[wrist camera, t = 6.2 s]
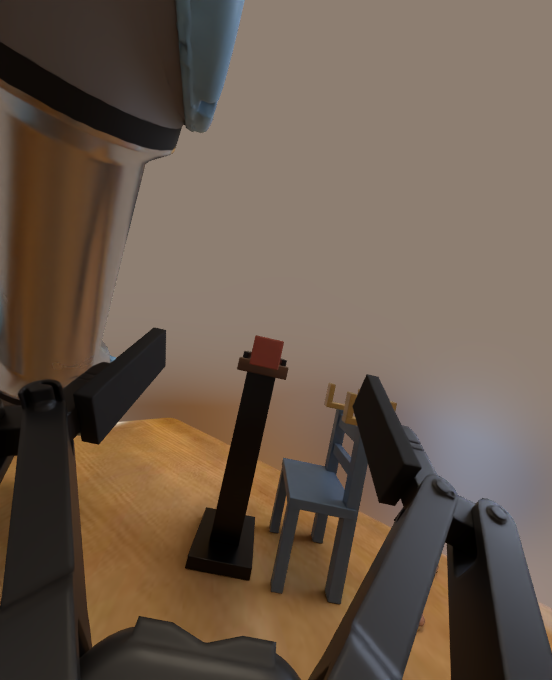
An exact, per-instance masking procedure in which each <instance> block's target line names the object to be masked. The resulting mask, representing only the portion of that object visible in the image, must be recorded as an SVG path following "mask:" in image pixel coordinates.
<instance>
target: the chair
mask: <svg viewBox="0 0 552 680" xmlns="http://www.w3.org/2000/svg"><path fill="white" fill-rule="evenodd" d="M334 391H335V384H332V383H329V385H328V389H327V394H326V399H325V406H327V407H330V408H335V409H337V410H336V415H335V420H334V424H333V430H332V434H331V439H330V444H329V449H328V454H327V459H326V464H325V466H321V465H316V464H311V463H306V462H301V461H297V460H292V459H286V458H283V462H282V470H281V474H280V479H279V484H278V489H277V493H276V498H275V503H274V507H273V512H272V517H271V521H270V532H274V533H278V531H279V527H280V522H281V517H282V512H283V508H284V503H285V498H286V496H287V507H286V512H285V516H284V521H283V526H282V531H281V535H280V540H279V545H278V550H277V554H276V559H275V564H274V569H273V574H272V578H271V592H276V593H281V594H282V593H283V588H284V583H285V578H286V573H287V569H288V564H289V559H290V554H291V549H292V544H293V540H294V535H295V530H296V525H297V520H298V515H299V511H300V510H305V511H310V512H315V518H314V523H313V527H312V532H311V536H312V540H313V542H318V543H323V538H324V533H325V528H326V523H327V518H328V515H329V516H334V517H339V521H338V526H337V531H336V536H335V541H334V546H333V551H332V556H331V561H330V566H329V571H328V576H327V582H326V587H325V593H326V597H327V601H328V602H331V603H337V604H341V599H342V593H343V588H344V583H345V578H346V573H347V568H348V563H349V557H350V552H351V547H352V542H353V537H354V532H355V527H356V521H357V516H358V511H359V506H360V501H361V496H362V490H363V485H364V480H365V475H366V470H367V465H368V461H367V457H366V454H365V450H364V447H363V443H362V439H361V436H360V432H359V429H358V425H357V421H356V418H355V417H353V413H354V411H353V407H352V406H353V404H354V402H355V399H356V397H357V395H356V394H354V393H352V392H347V396H346V401H345V404H340V403H336V402H332V401H333V395H334ZM359 391H360V389H359V390H358V393H359ZM390 402H391V404H392V406H393V409H394V411H395V410H396V405H397V403H394V402H392V401H390ZM344 433H346V434H347V435H348V436H349V437H350V438H351V439H352V440H353V441H354V446H353V450H352V456H351V457H350V456H349V454H348V453H347V452H346V451H345V449H344V448H343V447H342V443H343V438H344ZM338 463H340V464H341V465H342V467H343V469H344V470H345V472H346V473H347V475H348V476H347V481H346V486H345V490H344V488H343V487H342V485H341V483H340V481H339V479H338V478H337V476H336V473H337V468H338Z"/></svg>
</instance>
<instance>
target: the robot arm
mask: <svg viewBox="0 0 552 680" xmlns="http://www.w3.org/2000/svg"><path fill="white" fill-rule="evenodd" d="M243 5H244V0H0V483H1V481H2V479H3V477H4V475H5V473H6V471H7V469H8V467H9V465H10V463H11V461H12V459H13V457H14V456H17V455H18V456H17V465H16V474H15V483H14V492H13V501H12V510H11V519H10V528H9V537H8V546H7V555H6V564H5V573H4V582H3V591H2V599H1V605H0V680H301V679H300V678H299V676H298V675H297V673H296V672H295V671H294V669H293V668H292V667H291V666H290V665H289V664H288V663H287V662H286V661H285V660H284V659H283V658H282V657H281V656H279V655H278V654H276V642H273V641H267V640H262V639H257V638H252V637H246V636H240V637H235V638H230V639H225V640H220V641H215V642H210V643H205V642H202V641H201V640H199V639H198V638H196V637H195V636H193V635H191V634H190V633H188V632H187V631H185V630H184V629H182V628H181V627H179V626H178V625H176V624H175V623H173V622H168V621H162V620H157V619H152V618H147V617H141V616H139V618H138V620H137V623H136V625H135V627H130V628H126V629H124V630H121V631H118V632H116V633H114V634H112V635H110V636H108V637H107V638H105V639H103V640H102V641H100V642H99V643H97V644H96V645H95V646H93V647H92V643H91V633H90V625H89V619H88V612H87V601H86V588H85V575H84V563H83V550H82V537H81V524H80V512H79V499H78V486H77V473H76V461H75V448H74V440H73V439H74V438H75V437H76V436H81V439H82V441H84V442H89V443H93V444H98V445H99V444H100V442H101V441H102V440H103V439H104V438H105V437H106V435H107V434H108V433H109V432H110V431H111V430H112V428H113V427H114V426H115V425H116V424H117V422H118V421H119V420H120V419H121V418H122V416H123V415H124V414H125V413H126V412H127V410H128V409H129V408H130V407H131V406H132V405H133V403H134V402H135V401H136V400H137V399H138V398H139V397H140V395H141V394H142V393H143V392H144V391H145V389H146V388H147V387H148V386H149V385H150V384H151V382H152V381H153V380H154V379H155V378H156V377H157V375H158V374H159V373H160V372H161V370H162V369H163V368H164V367H165V359H166V330H163V329H159V328H153V329H152V330H150V331H149V332H148V333H147V334H145V335H144V336H143V337H142V338H141V339H139V340H138V341H137V342H136V343H134V344H133V345H132V346H131V347H129V348H128V349H127V350H126V351H125V352H123V353H122V354H121V355H120V356H118V357H117V358H116V357H112V356H111V355H110V354H109V351H108V348H107V346H106V345H105V343H104V342H103V341H102V337H103V333H104V329H105V325H106V321H107V317H108V312H109V309H110V305H111V300H112V297H113V292H114V288H115V284H116V280H117V276H118V272H119V268H120V264H121V260H122V256H123V252H124V248H125V244H126V240H127V236H128V232H129V228H130V224H131V220H132V216H133V212H134V208H135V203H136V199H137V196H138V192H139V187H140V183H141V180H142V175H143V171H144V167H145V164H146V163H148V162H149V161H151V160H155V159H157V158H161V157H164V156H168V155H171V154H172V153H173V152H174V150H175V148H176V144H177V141H178V138H179V135H180V131H181V128H182V126H183V125H185V126H186V128H187V129H189V130H190V131H192V132H193V131H196V132H200V133H203V132H206V131H207V130H208V128H209V126H210V124H211V122H212V120H213V115H214V112H215V109H216V105H217V101H218V100H219V97H220V94H221V91H222V89H223V86H224V82H225V79H226V75H227V71H228V67H229V64H230V60H231V56H232V52H233V48H234V44H235V40H236V35H237V31H238V27H239V23H240V18H241V14H242V9H243ZM352 407H353V411H354V414H355V418H356V421H357V425H358V429H359V432H360V436H361V439H362V443H363V447H364V450H365V454H366V457H367V461H368V465H369V468H370V472H371V475H372V478H373V483H374V486H375V490H376V493H377V497H378V501H379V503H383V504H388V505H393V506H395V505H396V504H397V502H398V501H399V499H400V498H401V501H402V503H403V506H404V507H403V508H402V510H401V511H400V512H399V514H398V515H397V517H396V518H395V519H394V521H395V522H394V524H393V526H392V528H391V530H390V532H389V534H388V535H387V537H386V539H385V541H384V543H383V545H382V547H381V548H380V550H379V552H378V554H377V556H376V558H375V560H374V562H373V563H372V565H371V567H370V569H369V571H368V573H367V575H366V576H365V578H364V580H363V582H362V584H361V586H360V588H359V589H358V591H357V593H356V595H355V597H354V599H353V601H352V603H351V604H350V606H349V608H348V610H347V612H346V614H345V616H344V617H343V619H342V621H341V623H340V625H339V627H338V629H337V630H336V632H335V634H334V636H333V638H332V640H331V642H330V644H329V645H328V647H327V649H326V651H325V653H324V655H323V656H322V658H321V660H320V661H319V663H318V664H317V666H316V667H315V669H314V670H313V672H312V674H311V675H310V677H309V679H308V680H402V677H403V674H404V671H405V667H406V664H407V661H408V658H409V655H410V652H411V648H412V645H413V642H414V639H415V636H416V633H417V629H418V626H419V623H420V620H421V617H422V614H423V610H424V607H425V604H426V601H427V598H428V595H429V591H430V588H431V585H432V582H433V579H434V576H435V572H436V569H437V566H438V563H439V560H440V557H441V553H442V550H443V547H444V544H445V543H447V565H448V597H449V629H450V660H451V680H552V652H551V648H550V645H549V641H548V637H547V634H546V630H545V627H544V623H543V620H542V616H541V612H540V609H539V605H538V602H537V598H536V594H535V591H534V587H533V584H532V580H531V577H530V573H529V569H528V566H527V563H526V559H525V555H524V552H523V548H522V544H521V541H520V537H519V534H518V530H517V527H516V524H515V522H514V520H513V518H512V517H511V516H510V514H509V513H508V512H507V511H506V510H505V509H504V508H503V507H501V506H500V505H498V504H497V503H495V502H494V501H492V500H489V499H484V498H482V499H481V500H479V501H478V502H477V503H476V504H475V503H473V502H471V501H469V500H467V499H465V498H463V497H461V496H459V495H457V493H456V490H455V489H454V488H453V486H452V485H451V484H450V483H449V482H447V481H446V480H445V479H443V478H442V477H440V476H438V475H437V473H436V472H435V470H434V468H433V466H432V464H431V462H430V460H429V458H428V456H427V454H426V453H425V452H424V449H423V447H422V445H421V444H420V441H419V439H418V438H417V435H416V434H415V433H414V432H413V431H412V430H411V429H410V428H409V427H407V426H402V425H401V423H400V421H399V419H398V417H397V415H396V413H395V411H394V409H393V406H392V404H391V402H390V401H389V398H388V396H387V394H386V392H385V390H384V388H383V386H382V384H381V382H380V380H379V377H376V376H372V375H366V378H365V379H364V382H363V384H362V386H361V388H360V391H359V393H358V395H357V397H356V399H355V402H354V404H353V406H352Z"/></svg>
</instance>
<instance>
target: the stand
mask: <svg viewBox="0 0 552 680" xmlns="http://www.w3.org/2000/svg"><path fill="white" fill-rule="evenodd" d="M251 354H252V352H249V351H245V352H244V355H243V357H240V358H239V363H238V367H237V369H238V370H243V371H247V375H246V380H245V384H244V389H243V393H242V397H241V403H240V406H239V411H238V415H237V420H236V424H235V429H234V433H233V438H232V442H231V446H230V451H229V455H228V460H227V464H226V469H225V473H224V478H223V482H222V486H221V491H220V495H219V500H218V504H217V509H212V508H207V507H206V510H205V512H204V515H203V517H202V520H201V523H200V525H199V528H198V530H197V533H196V536H195V538H194V541H193V544H192V546H191V549H190V551H189V554H188V557H187V561H186V566H185V568H187V569H192V570H197V571H202V572H207V573H212V574H218V575H223V576H228V577H233V578H238V579H243V580H249V579H250V575H251V570H252V558H253V543H254V527H255V517H252V516H247V515H246V510H247V506H248V501H249V497H250V492H251V487H252V483H253V478H254V474H255V469H256V464H257V460H258V455H259V450H260V446H261V441H262V437H263V432H264V428H265V423H266V419H267V414H268V409H269V405H270V400H271V396H272V391H273V386H274V382H275V378H280V379H284V380H286V377H287V372H288V367H286V362H287V361H286V360H284V359H281V358H280V363H279V367H278V370H275V369H270V368H266V367H261V366H256V365H252V364H249V363H250V358H251Z"/></svg>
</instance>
